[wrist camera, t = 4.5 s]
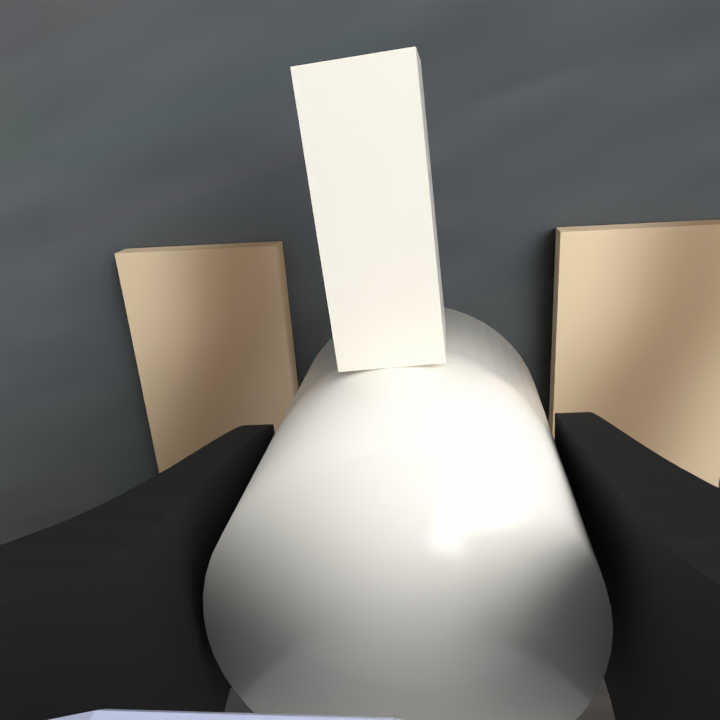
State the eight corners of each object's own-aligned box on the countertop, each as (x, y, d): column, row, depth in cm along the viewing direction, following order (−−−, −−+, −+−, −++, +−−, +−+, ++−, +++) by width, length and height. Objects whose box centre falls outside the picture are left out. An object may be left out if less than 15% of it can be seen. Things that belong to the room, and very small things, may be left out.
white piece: (545, 546, 14) (613, 824, 9) (324, 554, 15) (255, 815, 9) (523, 51, 11) (610, -20, 5) (240, 95, 12) (54, 74, 6)
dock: (743, 218, 14) (756, 222, 13) (691, 600, 18) (700, 615, 17) (125, 248, 16) (114, 253, 15) (192, 587, 20) (185, 600, 19)
